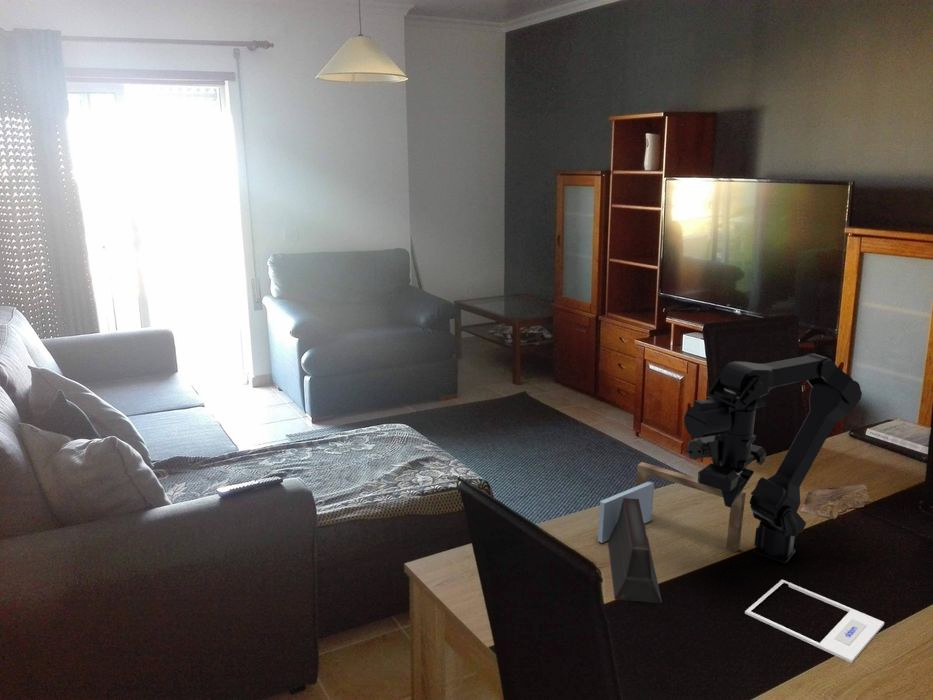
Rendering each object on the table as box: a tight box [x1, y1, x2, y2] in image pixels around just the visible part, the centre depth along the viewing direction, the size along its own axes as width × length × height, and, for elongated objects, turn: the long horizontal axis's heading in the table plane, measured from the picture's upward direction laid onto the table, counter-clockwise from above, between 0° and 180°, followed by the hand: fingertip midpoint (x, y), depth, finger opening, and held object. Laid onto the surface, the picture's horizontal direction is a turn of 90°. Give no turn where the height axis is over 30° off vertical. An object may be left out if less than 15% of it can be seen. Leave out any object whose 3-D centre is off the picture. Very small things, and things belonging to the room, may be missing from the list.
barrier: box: [607, 498, 663, 604], centre depth 146 cm, size 24×9×10 cm, turn 173°
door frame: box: [635, 461, 747, 553], centre depth 159 cm, size 23×2×12 cm, turn 50°
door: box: [596, 480, 655, 544], centre depth 160 cm, size 16×3×9 cm, turn 128°
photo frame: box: [744, 579, 885, 664], centre depth 131 cm, size 15×1×18 cm
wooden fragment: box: [799, 484, 872, 520], centre depth 176 cm, size 26×11×1 cm, turn 121°
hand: (728, 506), depth 144 cm, fingers closed
